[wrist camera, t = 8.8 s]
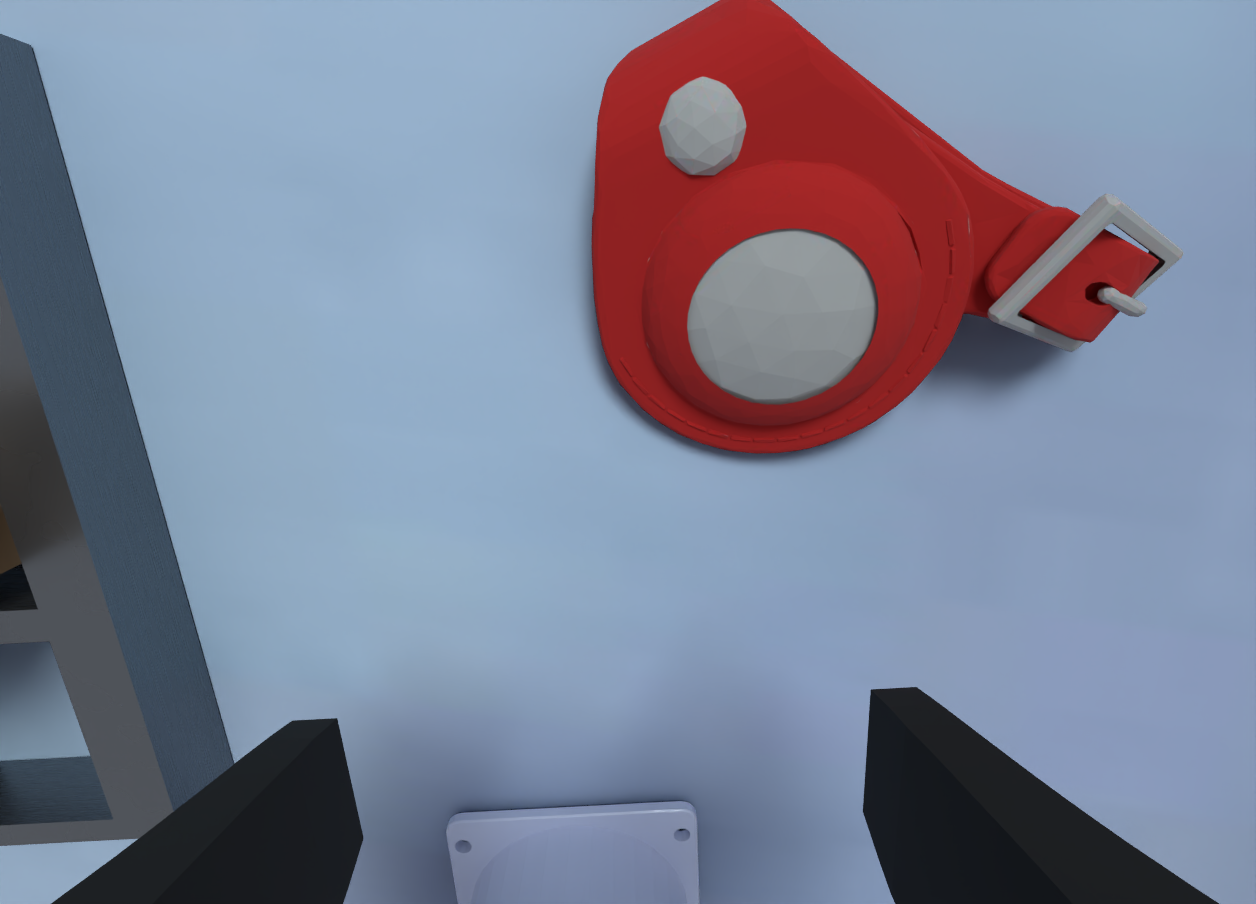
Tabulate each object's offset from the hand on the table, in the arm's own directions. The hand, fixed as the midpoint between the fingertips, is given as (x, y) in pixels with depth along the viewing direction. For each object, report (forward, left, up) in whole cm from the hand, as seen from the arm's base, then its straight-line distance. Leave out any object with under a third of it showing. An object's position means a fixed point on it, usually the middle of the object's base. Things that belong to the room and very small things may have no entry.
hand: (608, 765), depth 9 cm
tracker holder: (+6, -6, -10) cm, 13 cm away
